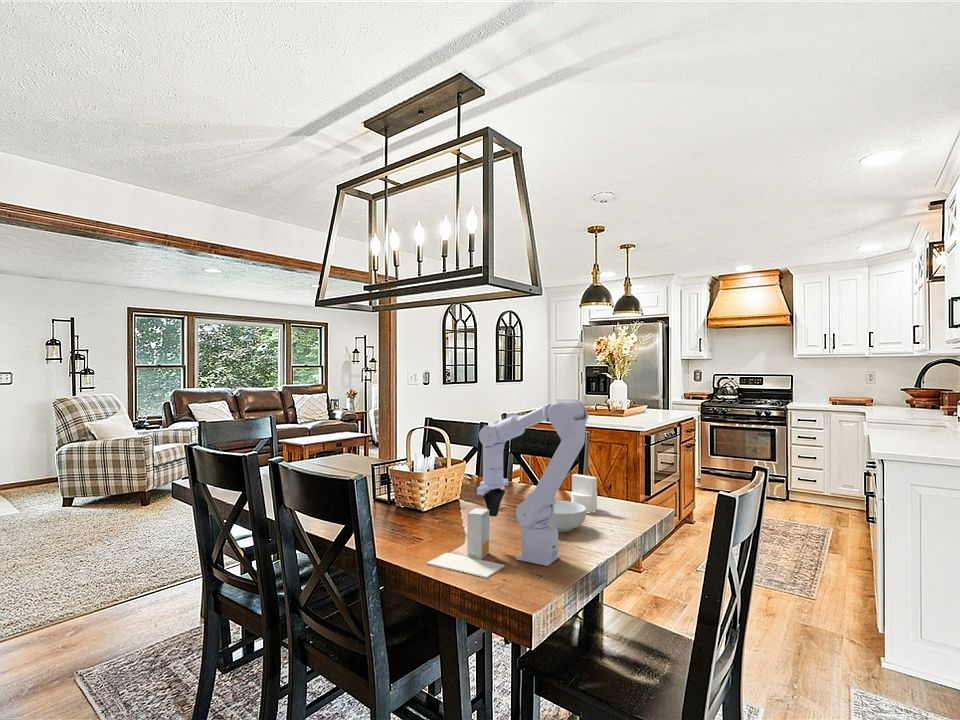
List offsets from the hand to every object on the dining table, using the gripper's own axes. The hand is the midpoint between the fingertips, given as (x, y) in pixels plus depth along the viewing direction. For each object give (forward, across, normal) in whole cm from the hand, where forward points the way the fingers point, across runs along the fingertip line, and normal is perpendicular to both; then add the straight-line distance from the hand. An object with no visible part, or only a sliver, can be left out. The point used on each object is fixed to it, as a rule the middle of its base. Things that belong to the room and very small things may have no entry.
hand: (493, 515), depth 154 cm
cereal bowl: (+9, -26, +9) cm, 29 cm away
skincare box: (+9, +8, 0) cm, 12 cm away
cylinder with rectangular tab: (+9, -51, +8) cm, 52 cm away
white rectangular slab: (+9, +16, +1) cm, 18 cm away
